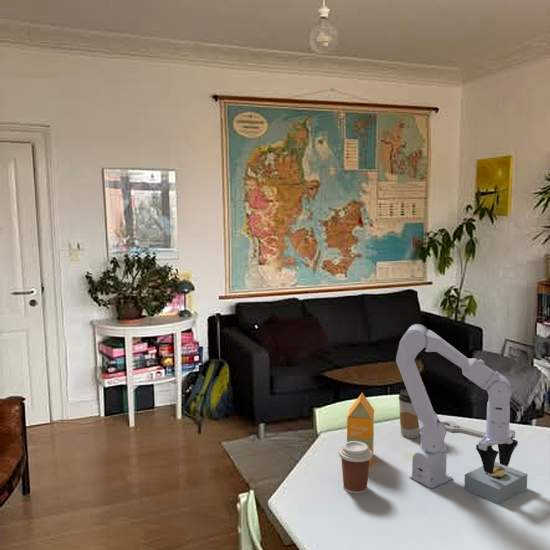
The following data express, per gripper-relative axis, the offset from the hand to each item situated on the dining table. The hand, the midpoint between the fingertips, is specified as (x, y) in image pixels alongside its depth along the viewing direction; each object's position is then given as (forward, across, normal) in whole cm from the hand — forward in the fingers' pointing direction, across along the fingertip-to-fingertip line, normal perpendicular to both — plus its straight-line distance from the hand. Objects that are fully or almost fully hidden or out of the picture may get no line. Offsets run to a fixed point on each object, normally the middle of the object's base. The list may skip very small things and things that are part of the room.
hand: (496, 468), depth 142 cm
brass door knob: (+6, 0, 0) cm, 6 cm away
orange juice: (+6, -17, +35) cm, 39 cm away
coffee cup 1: (+6, -31, +23) cm, 39 cm away
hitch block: (+6, 0, 0) cm, 6 cm away
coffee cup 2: (+6, +10, +38) cm, 40 cm away
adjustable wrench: (+6, +28, +25) cm, 38 cm away
